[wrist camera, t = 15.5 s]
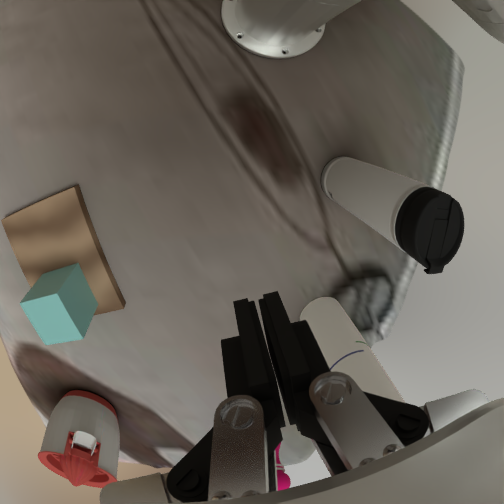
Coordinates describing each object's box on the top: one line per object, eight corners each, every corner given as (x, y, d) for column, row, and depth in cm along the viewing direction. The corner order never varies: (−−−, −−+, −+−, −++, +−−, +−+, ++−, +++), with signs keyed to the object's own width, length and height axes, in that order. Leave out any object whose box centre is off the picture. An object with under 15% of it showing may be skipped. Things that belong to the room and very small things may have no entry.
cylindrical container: (301, 299, 44) (373, 439, 22) (343, 294, 45) (429, 416, 23) (297, 335, 47) (354, 467, 25) (337, 328, 48) (406, 447, 26)
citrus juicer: (135, 397, 49) (127, 488, 31) (116, 432, 53) (109, 505, 36) (61, 365, 43) (32, 453, 25) (54, 407, 48) (35, 479, 30)
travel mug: (317, 203, 38) (407, 277, 20) (322, 153, 35) (428, 193, 17) (358, 205, 39) (457, 273, 21) (364, 158, 36) (477, 201, 18)
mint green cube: (42, 273, 34) (19, 303, 27) (78, 262, 34) (57, 293, 28) (63, 312, 37) (45, 345, 30) (98, 304, 37) (83, 338, 31)
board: (6, 216, 31) (1, 220, 29) (78, 184, 32) (74, 187, 30) (54, 318, 39) (51, 324, 37) (125, 302, 40) (123, 308, 38)
